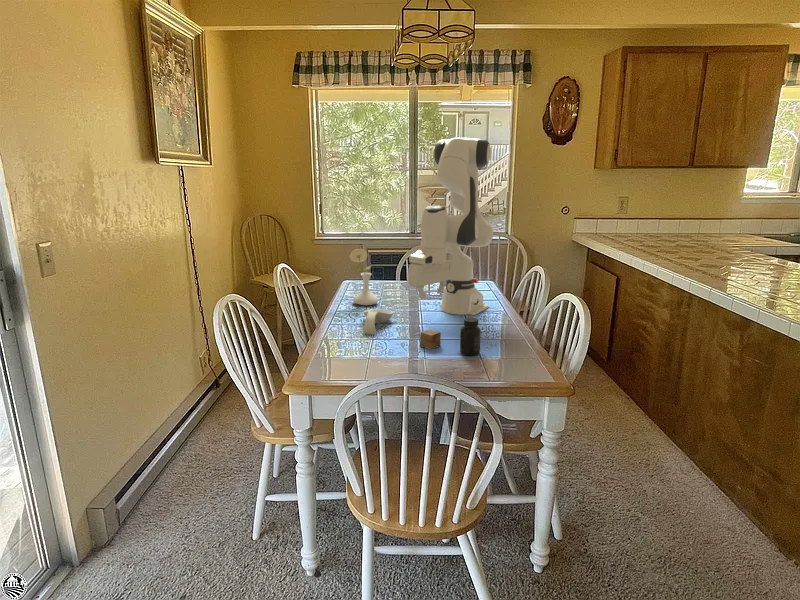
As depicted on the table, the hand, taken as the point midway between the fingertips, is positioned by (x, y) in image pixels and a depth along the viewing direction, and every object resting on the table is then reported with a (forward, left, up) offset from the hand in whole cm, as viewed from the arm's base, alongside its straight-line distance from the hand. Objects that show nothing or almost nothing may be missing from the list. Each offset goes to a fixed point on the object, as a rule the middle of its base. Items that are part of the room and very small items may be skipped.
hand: (431, 295), depth 172 cm
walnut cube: (0, 0, -18) cm, 18 cm away
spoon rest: (-2, -29, -19) cm, 35 cm away
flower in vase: (-19, -55, -18) cm, 61 cm away
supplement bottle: (-4, +14, -18) cm, 23 cm away
